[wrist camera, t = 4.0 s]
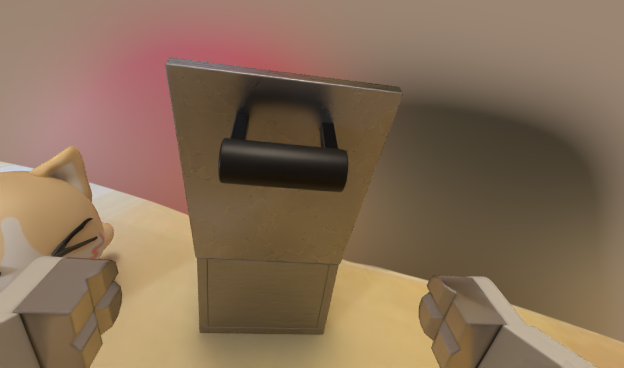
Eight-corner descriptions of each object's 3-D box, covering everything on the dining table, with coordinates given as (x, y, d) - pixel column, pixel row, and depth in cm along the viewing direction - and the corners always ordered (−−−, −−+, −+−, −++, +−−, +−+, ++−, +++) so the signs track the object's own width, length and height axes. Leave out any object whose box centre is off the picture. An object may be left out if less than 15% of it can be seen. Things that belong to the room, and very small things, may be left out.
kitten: (-99, 419, 21) (-248, 232, 14) (-83, 316, 27) (-182, 152, 20) (145, 310, 30) (126, 169, 24) (115, 253, 37) (93, 128, 30)
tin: (224, 236, 42) (225, 177, 38) (310, 241, 44) (320, 185, 40) (199, 332, 29) (196, 258, 25) (323, 334, 31) (338, 264, 27)
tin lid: (169, 56, 15) (125, 114, 11) (399, 86, 17) (433, 146, 13) (197, 249, 25) (180, 315, 21) (339, 256, 27) (347, 319, 23)
